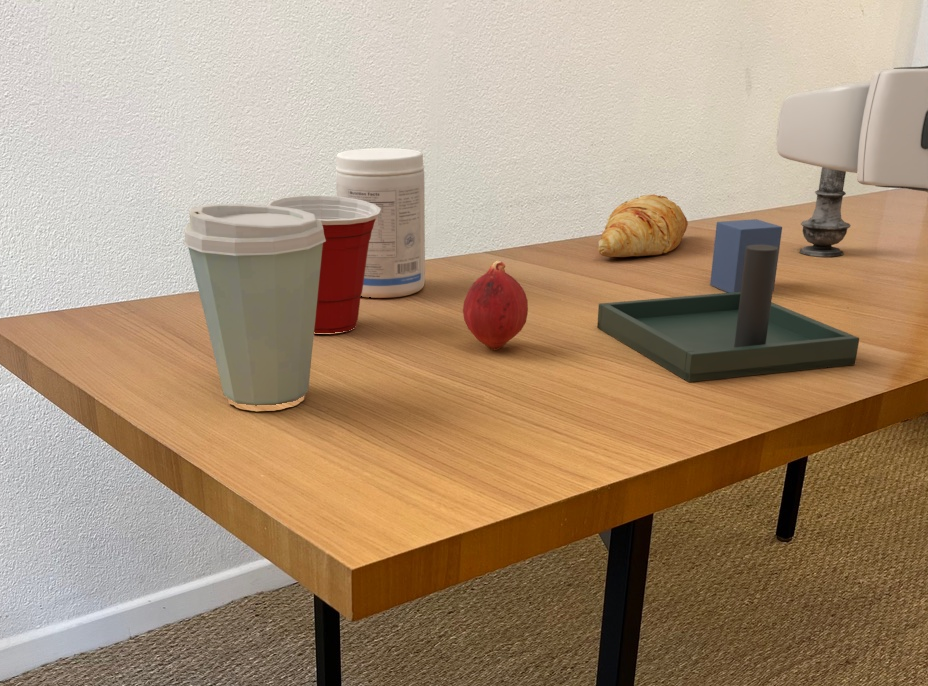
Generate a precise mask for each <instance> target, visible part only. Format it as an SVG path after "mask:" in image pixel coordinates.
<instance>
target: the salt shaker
mask: <svg viewBox="0 0 928 686" xmlns="http://www.w3.org/2000/svg"><path fill="white" fill-rule="evenodd" d="M846 174H847V172H845V171H839V170H834V169H829V168H824V167H821V170H820V178H819V183H818V189H816V191H814V194H815V195H816V200H815V206H814V207H815V208H814V211H813V213H812V216H811V217H810V218H808V219H807V220H803V221H801V222H800V225H801V226H802V234H803V238H804V239H805V240H806V242H808V243H809V244H812V245H805V246H803V248H800V249H799V253H800V254H802V255H805V256H810V257H817V258H820V257H821V258H832V257H833V258H834V257H841V256H843V255H844V251H843V250H841V248H839V247H836V246H834V245H837V244H840V243H841V242H842V241H843V240H844V239H845V236H846V235H847V233H848V229H849V228H851V223H848V222H846V221H845V220H844V219H843V218H842V210H841V209H842V204H843V197H844V196H845V195H847V193H846V191H844V187H845V181H846Z"/></svg>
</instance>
